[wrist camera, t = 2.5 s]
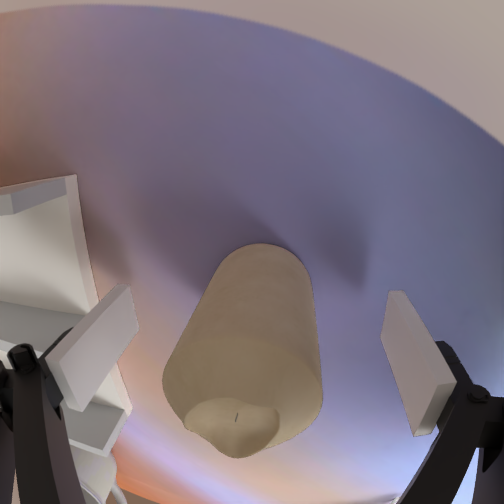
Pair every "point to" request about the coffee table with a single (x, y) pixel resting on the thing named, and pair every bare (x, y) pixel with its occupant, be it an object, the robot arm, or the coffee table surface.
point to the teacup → (96, 476)
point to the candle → (249, 354)
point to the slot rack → (53, 294)
